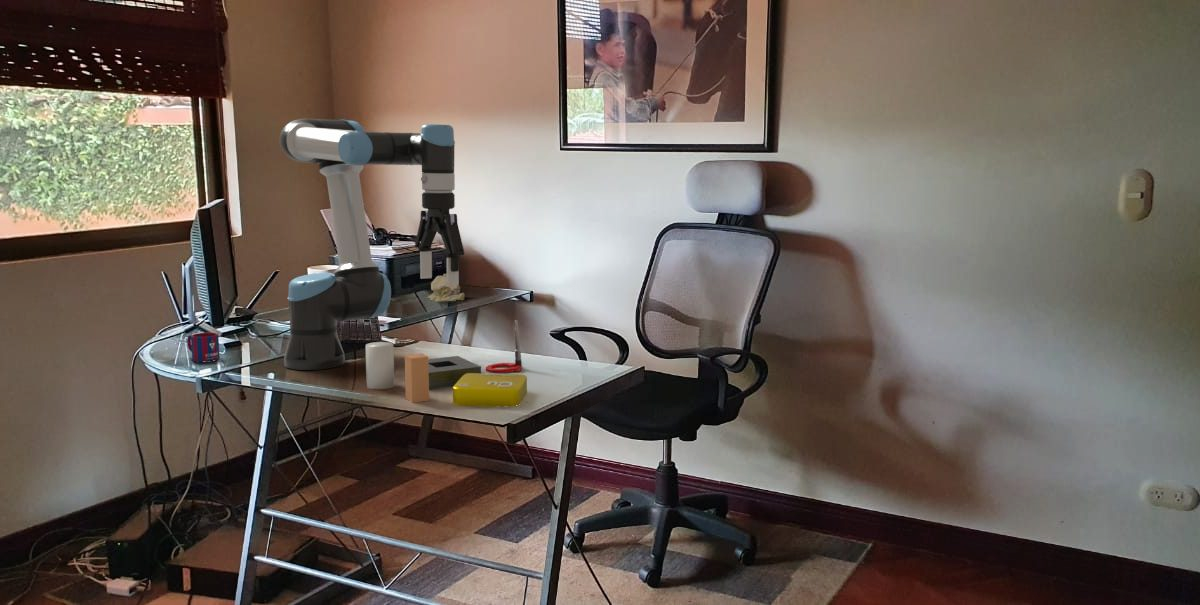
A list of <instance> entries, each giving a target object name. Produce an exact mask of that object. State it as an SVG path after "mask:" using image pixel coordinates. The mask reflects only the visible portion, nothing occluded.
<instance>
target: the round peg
mask: <svg viewBox="0 0 1200 605" xmlns="http://www.w3.org/2000/svg"><path fill="white" fill-rule="evenodd" d="M394 350H395V349H394V343H392V342H387V341H376V342H369V343H366V344H365V371H366V372H365V373H366V374H365V375H366V376H365V377H366V388H367V389H371V390H386V389H387V390H388V389H391V388H393V387H395V361H394V360H395V356H394V355H395V354H394Z"/></svg>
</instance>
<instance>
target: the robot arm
mask: <svg viewBox="0 0 1200 605" xmlns="http://www.w3.org/2000/svg"><path fill="white" fill-rule="evenodd" d="M420 130H421V131H420V132H391V131H390V132H389V131H388V132H387V131H386V132H385V131H384V132H382V131H366V130H365V128H364V127H363V125H361V124H360V123H359V122H357V121H355V120H348V119H347V120H346V119H343V118H340V119H330V118H325V119H324V118H323V119H322V118H298V119H294V120H291V121H290V122H289V123H287V124H286V125H285V126H284V127H283V128H282V130H281V131H280V133H279V146H280V149H281V151H282V152H283V153H284V154H285V155H286V156H287V157H288V158H289V159H291V160H293V161H295V162H299V163H303V164H305V163H306V164H318V168H319V170H318V171H319V173H320V174H321V175H323V176H324V177H325V178H326V184H327V191H328V197H329V198H328V199H329V202H330V204H329V205H330V212H331V217H332V224H333V231H334V238H335V245H336V251H337V258H338V267H337V268H336V269H335V271H334V273H332V272H318V273H308V274H305V275H300V276H297V277H295V278H293V279H291V281H290V282H289V284H288V295H287V299H288V313H289V315H288V316H289V333H290V334H289V339H288V343H287V347H286V350H285V353H284V358H283V362H284V367H285V368H286V369H287V368H288V369H291V370H297V371H298V370H300V371H302V370H303V371H311V370H313V371H314V370H315V371H316V370H327V369H332V367H333V368H336V366H337V367H339V365H340V366H342V365H344V364H345V362H346V359H345V358H346V356H345V352H344V350H343V346H342V343H341V341H340V339H339V336H338V331H337V330H338V329H337V325H338V323H339V322H346V321H355V320H363V319H365V320H368V319H371V318H375V317H380V316H382V315H384V313H385V312H386V311H387V310H388V307H389V306H390V302H391V297H392V288H391V282H390V280H389V278H388V277H387V275H385V274H384V273H381V272H380V268H379V265H377V264H376V263H375V262H373V260H372V253H371V246H370V240H369V232H368V225H367V219H366V210H365V205H364V200H363V198H364V197H363V193H362V192H363V191H362V186H361V179H360V178H361V177H360V173H361V172H362V171H363V169H364V165H365V166H369V165H370V166H371V165H374V166H375V165H377V166H379V165H383V166H384V165H386V166H387V165H388V166H389V165H390V166H391V165H394V166H398V165H399V166H421V177H420V181H421V189H422V191H424V192H422V193H421V207H422V208H423V209H425V210H421V211H420V218H419V220H420V221H419V225H418V230H417V233H416V239H415V243H414V247H415V248H417V249H418V251H419V260H420V261H419V262H420V263H419V264H420V265H419V270H420V274H419V275H420V276H419V277H420V279H421V280H422V279H432V277H433V265H432V264H433V259H432V257H433V256H432V255H433V254H432V251H433V248H432V245H433V243H434V240H435V238H436V235H437V234H439V235H440V237H441V240H442V242H443V245H444V247H445V250H446V253H447V254H446V256H445V257H446V274H447V286H453V285H459V284H460V281H459V280H460V278H459V274H460V273H459V266H460V265H459V258H460V257H461V256H464V255H465V250H464V245H463V241H462V237H461V233H460V229H459V223H458V216H457V215H458V214H457V213H450V210H452V209H455V205H456V204H455V200H456V199H455V193H454V192H453V191H455V187H456V186H455V176H456V175H455V144H456V142H455V132H454V127H453V126H452V125H450V124H436V123H435V124H434V123H433V124H432V123H431V124H423V125H422V126H421V129H420ZM459 286H460V285H459Z"/></svg>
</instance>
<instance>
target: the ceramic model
mask: <svg viewBox="0 0 1200 605" xmlns="http://www.w3.org/2000/svg"><path fill="white" fill-rule="evenodd" d="M430 288H431V289H430V290H431V291H433V292H432V293H431V294H430V295H428V297H427V299H428V298H430V299H429V301H430V300H435V301H434V302H457V301H456V300H462V301H464V300H465V293H464V292H460V291H461V286H460V285H453V286H447V273H443V275H437V276H435V278H434V279H433V280H432V281H431V283H430Z"/></svg>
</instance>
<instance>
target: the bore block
mask: <svg viewBox="0 0 1200 605" xmlns="http://www.w3.org/2000/svg"><path fill="white" fill-rule="evenodd" d="M428 364H429V390H435V389H444V388H453V386H454V385H455V384H456V383H457V382H458V381H459V380H460V378H461V377H462V376H463V375H465V374H467V373H482V366H480V365H479V364H476V363H475V362H473V361H471V360H468V359H465V358H463V357H461V356H458V355H453V356H452V355H451V356H447V357H446V356H445V357H438V358H437V357H435V358H428Z"/></svg>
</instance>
